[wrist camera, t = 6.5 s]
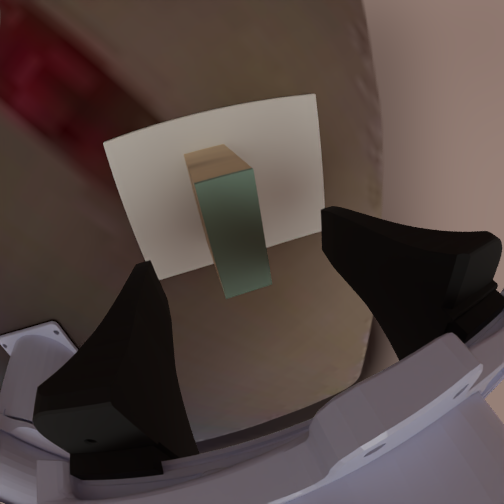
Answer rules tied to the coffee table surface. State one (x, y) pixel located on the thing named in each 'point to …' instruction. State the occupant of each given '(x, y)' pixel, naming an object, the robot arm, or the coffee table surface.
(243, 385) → the coffee table surface
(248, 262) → the oak slab
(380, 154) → the coffee table surface
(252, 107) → the grey mat
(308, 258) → the coffee table surface
